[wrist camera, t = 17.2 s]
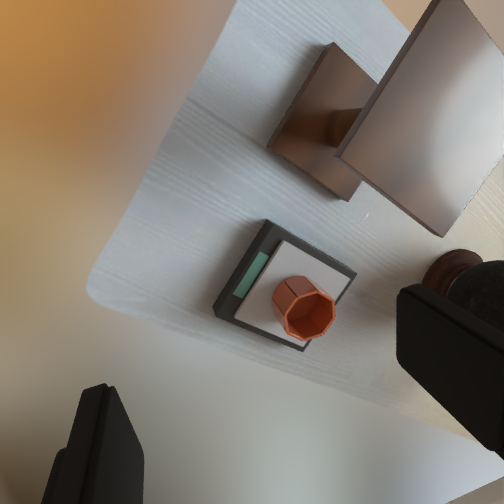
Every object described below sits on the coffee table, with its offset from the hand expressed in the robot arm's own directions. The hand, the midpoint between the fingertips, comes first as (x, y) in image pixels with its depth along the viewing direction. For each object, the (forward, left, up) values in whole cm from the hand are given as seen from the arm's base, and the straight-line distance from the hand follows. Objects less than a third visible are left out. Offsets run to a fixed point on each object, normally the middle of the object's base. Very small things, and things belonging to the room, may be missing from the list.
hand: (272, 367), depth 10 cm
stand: (+18, +4, -28) cm, 34 cm away
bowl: (+9, -14, -25) cm, 31 cm away
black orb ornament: (+36, -22, -28) cm, 51 cm away
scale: (+9, -14, -28) cm, 33 cm away
